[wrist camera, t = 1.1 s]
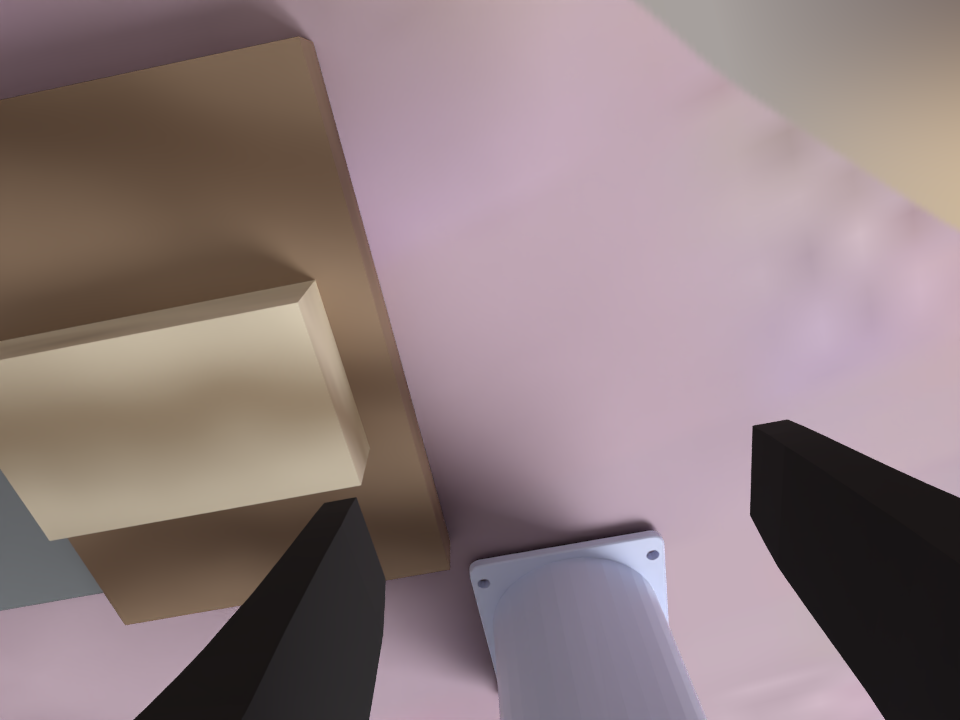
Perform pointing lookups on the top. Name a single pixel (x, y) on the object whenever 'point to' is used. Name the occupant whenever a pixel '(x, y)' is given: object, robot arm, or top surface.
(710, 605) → the top surface
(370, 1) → the top surface
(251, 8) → the top surface
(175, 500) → the birch block
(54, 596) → the charcoal mat
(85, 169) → the walnut board
